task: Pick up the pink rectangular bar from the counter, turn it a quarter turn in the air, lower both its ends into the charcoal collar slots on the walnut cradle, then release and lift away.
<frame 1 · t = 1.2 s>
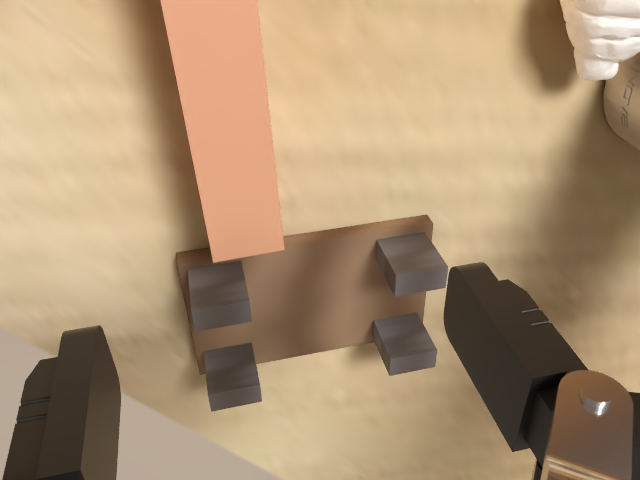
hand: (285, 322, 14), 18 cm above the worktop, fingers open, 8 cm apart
garlic bulb: (579, 6, 31), on the worktop
pink rectangular bar: (214, 61, 28), on the worktop
cradle: (309, 291, 37), on the worktop
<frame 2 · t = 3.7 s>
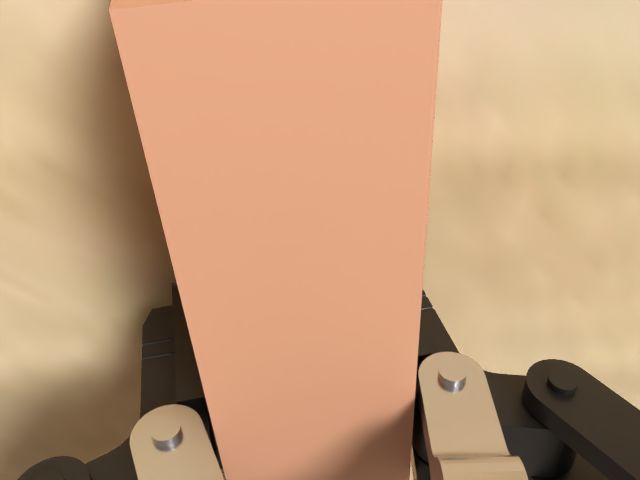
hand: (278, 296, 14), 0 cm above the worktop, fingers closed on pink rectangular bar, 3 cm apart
pink rectangular bar: (276, 284, 15), on the worktop, touching gripper
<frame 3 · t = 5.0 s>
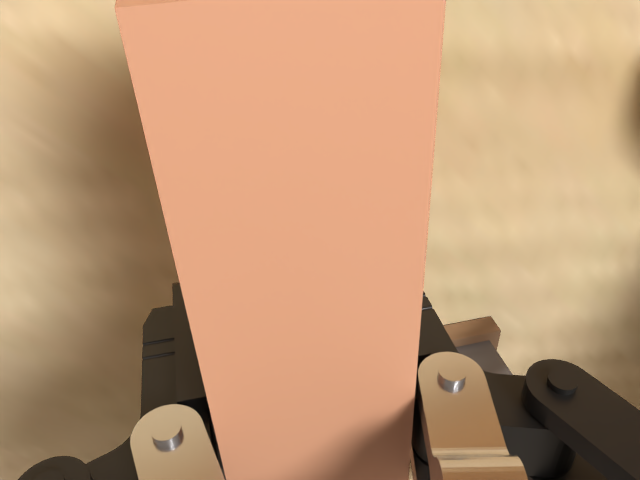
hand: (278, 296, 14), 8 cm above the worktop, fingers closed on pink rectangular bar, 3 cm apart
pink rectangular bar: (276, 283, 15), point 7 cm above the worktop, touching gripper
cradle: (340, 408, 30), on the worktop
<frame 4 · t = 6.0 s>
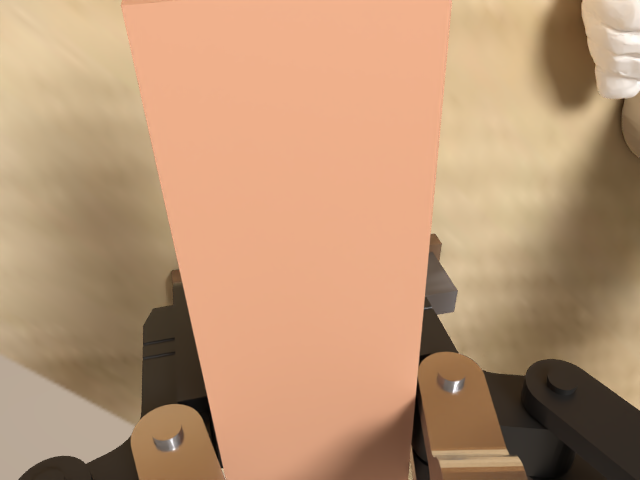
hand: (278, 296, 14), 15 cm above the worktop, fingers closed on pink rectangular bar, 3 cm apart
garlic bulb: (600, 20, 29), on the worktop
pink rectangular bar: (276, 283, 15), point 15 cm above the worktop, touching gripper
cradle: (310, 311, 36), on the worktop
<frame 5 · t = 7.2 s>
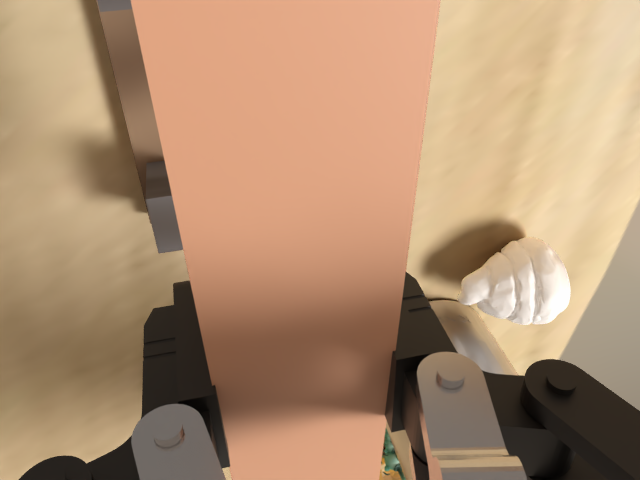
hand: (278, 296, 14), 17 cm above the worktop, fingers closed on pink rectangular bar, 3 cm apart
frog figurine: (384, 469, 51), on the worktop
garlic bulb: (485, 259, 40), on the worktop
pink rectangular bar: (267, 238, 15), point 15 cm above the worktop, tilted 6°, touching gripper
cradle: (215, 67, 28), on the worktop
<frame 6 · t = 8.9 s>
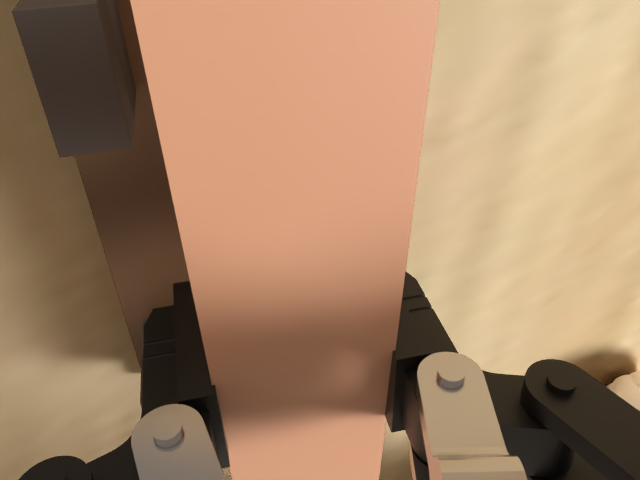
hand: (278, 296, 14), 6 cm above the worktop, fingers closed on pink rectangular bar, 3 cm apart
garlic bulb: (582, 392, 31), on the worktop
pink rectangular bar: (267, 237, 15), point 4 cm above the worktop, tilted 6°, touching gripper
cradle: (243, 189, 19), on the worktop
when the fingers open (3 cm above the worktop, at t = 9.9 s): pink rectangular bar stays where it is, resting on cradle.
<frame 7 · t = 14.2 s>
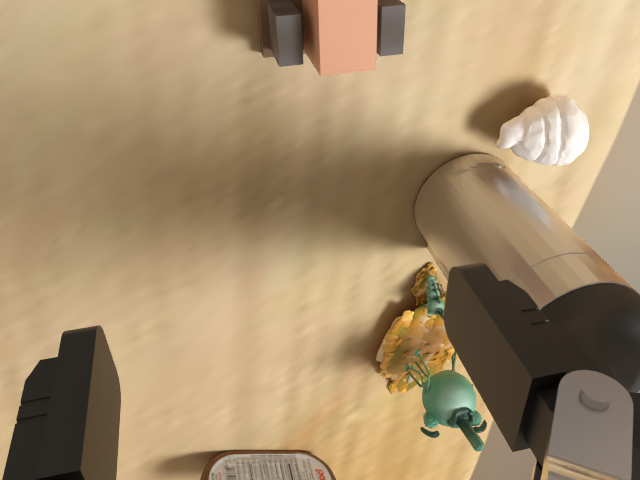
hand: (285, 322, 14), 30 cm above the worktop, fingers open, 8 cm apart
tin: (263, 453, 66), on the worktop
frog figurine: (421, 330, 60), on the worktop
garlic bulb: (517, 118, 48), on the worktop
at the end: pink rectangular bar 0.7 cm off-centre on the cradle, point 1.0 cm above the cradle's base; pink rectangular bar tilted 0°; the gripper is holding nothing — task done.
